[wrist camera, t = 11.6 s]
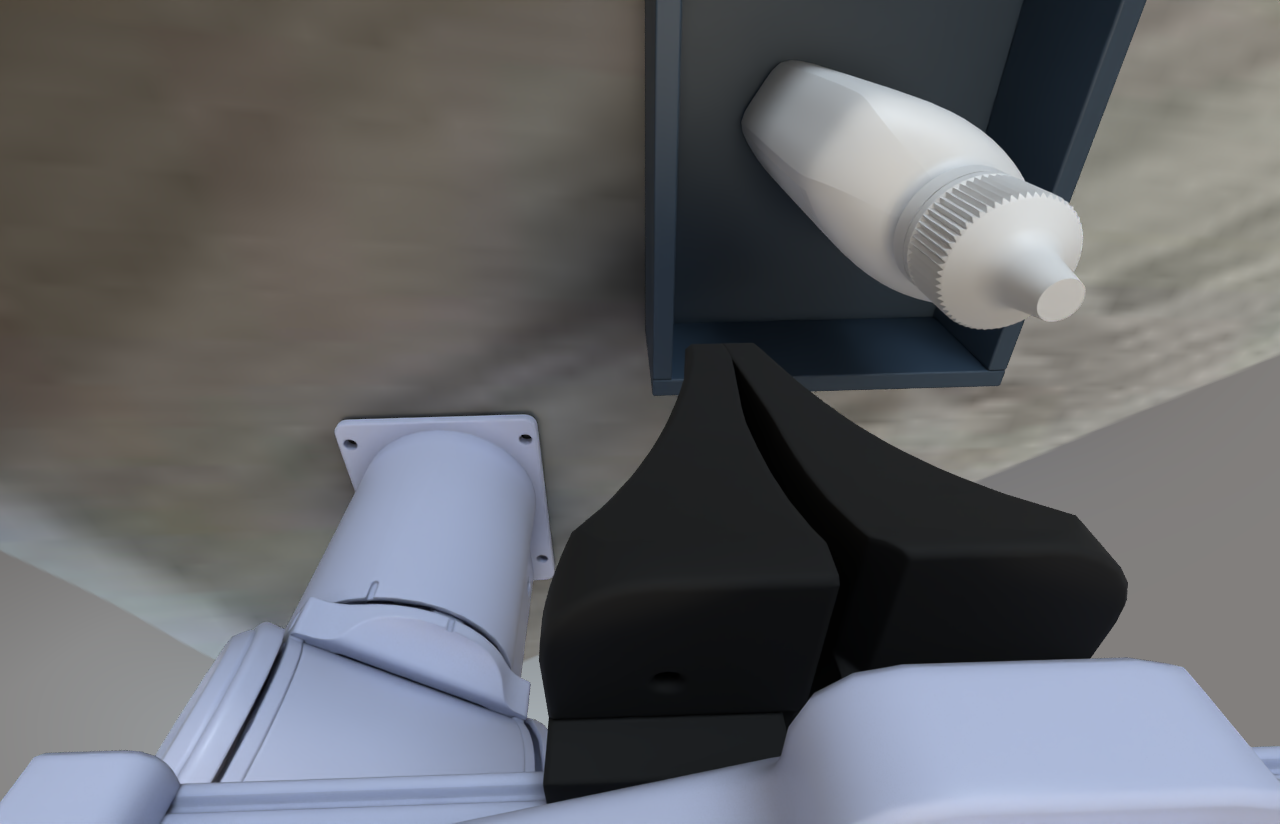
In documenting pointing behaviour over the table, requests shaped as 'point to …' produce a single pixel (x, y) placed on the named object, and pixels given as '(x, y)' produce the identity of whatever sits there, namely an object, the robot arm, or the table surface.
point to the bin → (778, 228)
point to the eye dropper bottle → (917, 197)
